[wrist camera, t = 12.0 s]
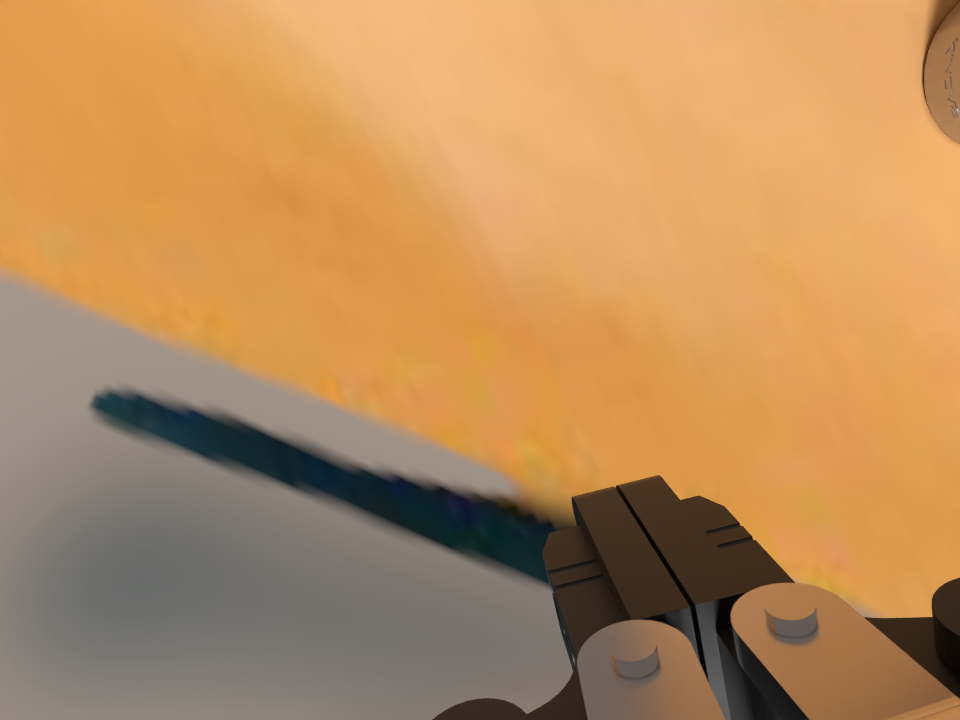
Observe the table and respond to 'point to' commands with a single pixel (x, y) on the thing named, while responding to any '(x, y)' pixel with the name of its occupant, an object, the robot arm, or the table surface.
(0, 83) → the table surface
